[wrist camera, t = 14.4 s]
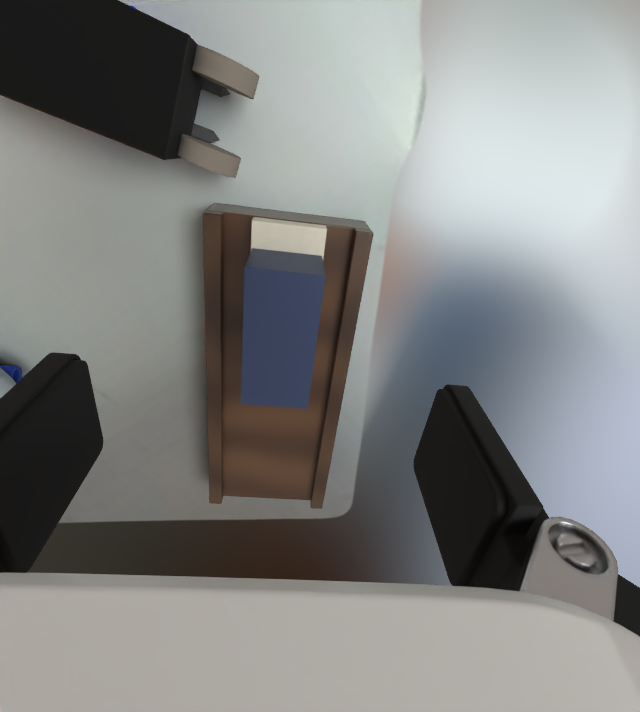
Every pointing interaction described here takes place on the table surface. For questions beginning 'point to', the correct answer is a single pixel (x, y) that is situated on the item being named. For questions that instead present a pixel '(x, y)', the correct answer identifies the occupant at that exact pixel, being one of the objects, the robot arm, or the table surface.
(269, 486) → the brown wooden tray
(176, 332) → the table surface
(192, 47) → the figurine character
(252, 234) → the blue milk carton
